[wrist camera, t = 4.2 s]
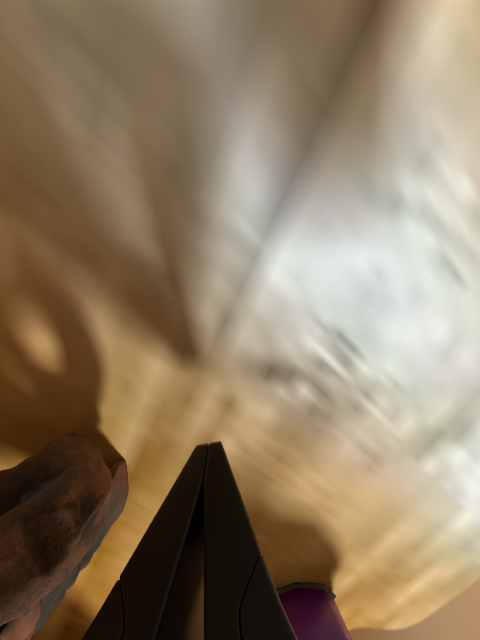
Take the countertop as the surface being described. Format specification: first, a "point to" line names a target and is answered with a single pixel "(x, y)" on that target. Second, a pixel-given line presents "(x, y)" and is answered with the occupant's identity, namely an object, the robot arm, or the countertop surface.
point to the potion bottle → (313, 612)
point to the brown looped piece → (52, 527)
